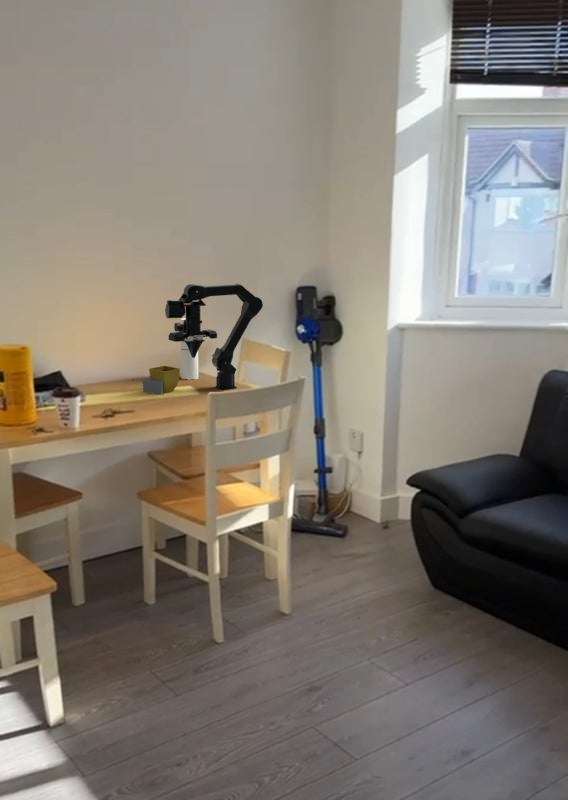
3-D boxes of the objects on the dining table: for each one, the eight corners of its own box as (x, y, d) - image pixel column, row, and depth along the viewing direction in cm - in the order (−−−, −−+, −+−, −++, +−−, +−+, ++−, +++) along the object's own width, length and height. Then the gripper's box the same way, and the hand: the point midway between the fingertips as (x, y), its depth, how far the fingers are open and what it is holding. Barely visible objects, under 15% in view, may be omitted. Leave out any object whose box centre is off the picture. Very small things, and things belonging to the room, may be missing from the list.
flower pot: (181, 390, 302) (180, 368, 300) (165, 394, 295) (164, 371, 293) (165, 387, 307) (164, 365, 305) (148, 391, 301) (148, 368, 298)
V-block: (158, 387, 307) (158, 375, 305) (163, 394, 295) (163, 381, 294) (141, 388, 304) (140, 376, 303) (145, 395, 293) (145, 382, 292)
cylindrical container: (179, 379, 323) (178, 319, 317) (184, 375, 330) (183, 317, 324) (195, 380, 322) (195, 320, 316) (200, 376, 329) (199, 318, 323)
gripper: (203, 313, 309) (203, 352, 312) (161, 316, 298) (162, 356, 302) (217, 317, 300) (218, 356, 304) (175, 320, 289) (175, 361, 293)
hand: (193, 357), depth 301 cm, fingers closed
